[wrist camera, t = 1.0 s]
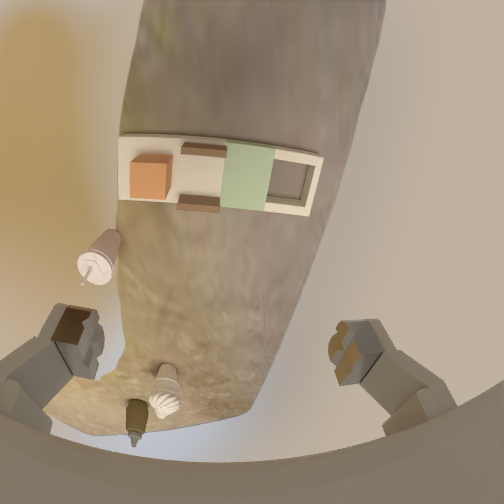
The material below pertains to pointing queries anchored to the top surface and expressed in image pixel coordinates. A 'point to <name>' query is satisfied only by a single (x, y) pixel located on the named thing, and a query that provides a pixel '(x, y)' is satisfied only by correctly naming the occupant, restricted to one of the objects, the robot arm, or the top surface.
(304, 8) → the top surface
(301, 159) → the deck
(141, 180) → the block
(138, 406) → the squeeze bottle
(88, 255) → the smoothie
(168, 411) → the soft serve ice cream cone
